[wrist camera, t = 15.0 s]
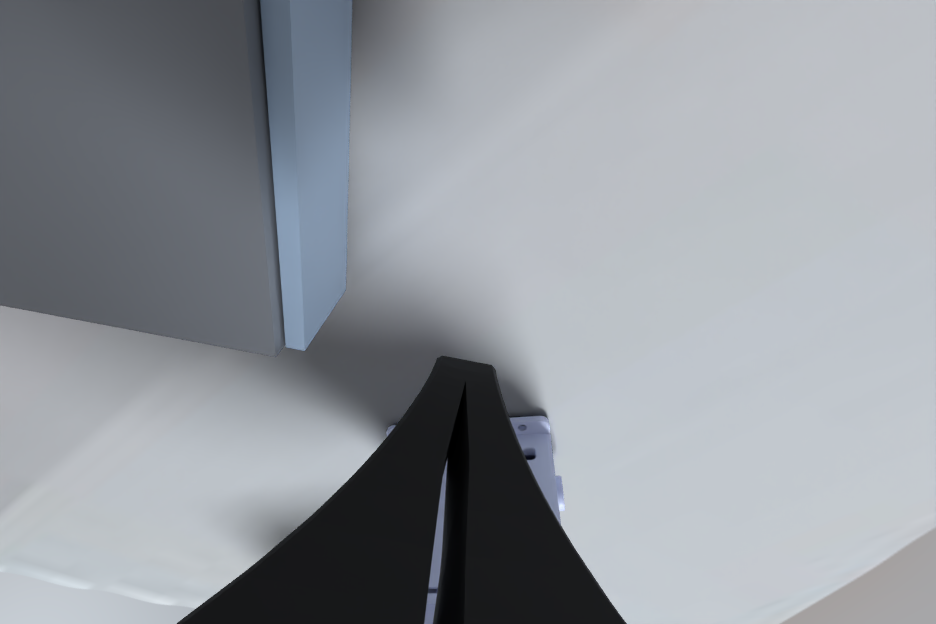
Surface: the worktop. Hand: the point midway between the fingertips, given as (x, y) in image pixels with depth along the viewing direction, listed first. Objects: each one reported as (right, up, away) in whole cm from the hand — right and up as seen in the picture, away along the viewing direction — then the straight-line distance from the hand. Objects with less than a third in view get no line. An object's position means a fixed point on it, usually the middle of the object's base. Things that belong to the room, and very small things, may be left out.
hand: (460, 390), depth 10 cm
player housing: (-11, +9, +6) cm, 15 cm away
